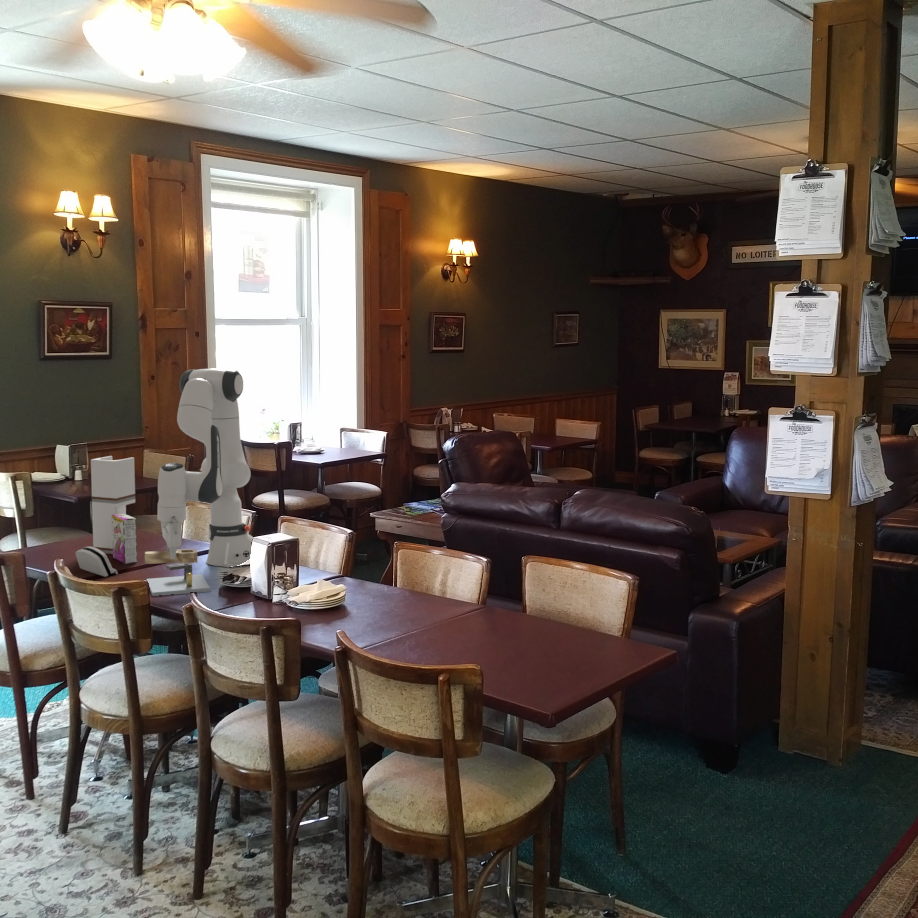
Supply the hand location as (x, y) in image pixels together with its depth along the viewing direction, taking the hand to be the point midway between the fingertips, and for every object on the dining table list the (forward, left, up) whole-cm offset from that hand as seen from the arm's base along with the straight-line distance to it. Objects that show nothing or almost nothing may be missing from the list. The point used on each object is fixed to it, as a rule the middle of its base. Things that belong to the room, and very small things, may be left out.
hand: (171, 556), depth 318 cm
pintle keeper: (-4, -6, -12) cm, 13 cm away
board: (-2, -5, -12) cm, 13 cm away
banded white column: (+13, -66, -12) cm, 68 cm away
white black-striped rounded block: (+21, -34, -12) cm, 42 cm away
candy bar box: (+11, -48, -12) cm, 51 cm away
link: (0, 0, -2) cm, 2 cm away
